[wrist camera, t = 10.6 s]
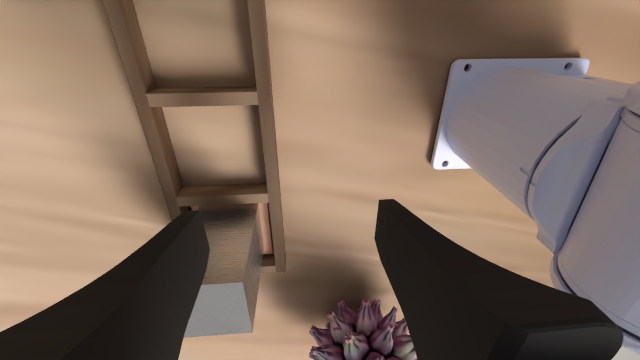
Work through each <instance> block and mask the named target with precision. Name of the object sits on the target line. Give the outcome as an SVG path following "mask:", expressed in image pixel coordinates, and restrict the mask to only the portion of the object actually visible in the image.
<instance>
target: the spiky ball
mask: <svg viewBox="0 0 640 360" xmlns="http://www.w3.org/2000/svg"><path fill="white" fill-rule="evenodd" d="M337 306H338V315H336V314H335V313H334V312H333V311H332V310H331V312H328V315H327V317H328V318H329V320H330V322H329V323H327V325H326V328H327V329H319V328H317V327H315V326H312V328H311V330H310V331H309V333H310V334H311V335H312V336H313V337H314V338H315V340H316V342H317V344H318V345H319V347H315V346H312V349H311V352H310V353H309V355H310V356H309V357H310V358H312V359H314V360H418V359H417V356H416V352H415V349H414V346H413V342H412V339H411V336H410V335H407V334H406V331H407V327H408V326H407V323H406V320H405V318H403V319H402V320H401V321H398V322H395V317H396V312H397V309H396V308H395V307H393V308H392V310H391V312H390V313H389V314H387V315H386V316H385V317H383V316H382V314H381V310H380V300H379V299H378V300H376V299H375V300H374V302H373V305H372V306H371V307H370V301H369V300H368V299H367V300H366V299H364V300H362V302H361V308H359V307H358V308H355V312H354V311H352V310H351V309H350V308H348V307H347V305H346V303H345V301H344V300H341V301H340V302H338V303H337Z"/></svg>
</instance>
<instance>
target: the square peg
mask: <svg viewBox="0 0 640 360" xmlns="http://www.w3.org/2000/svg"><path fill="white" fill-rule="evenodd" d="M198 210H200V211H201V215H202V219H203V223H204V227H205V231H206V235H207V239H208V243H209V247H210V253H209V258H208V264H207V268H206V273H205V276H204V279H203V282H202V285H201V288H200V290H199V293H198V296H197V299H196V302H195V305H194V308H193V310H192V313H191V316H190V319H189V322H188V325H187V328H186V331H185V334H184V337H197V336H211V335H224V334H238V333H251V332H253V325H254V317H255V310H256V303H257V295H258V288H259V281H260V273H261V266H262V259H263V251H264V241H263V234H262V226H261V219H260V211H259V204H258V203H249V204H226V205H202V206H199V208H198ZM184 337H183V338H184Z"/></svg>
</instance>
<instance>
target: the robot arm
mask: <svg viewBox="0 0 640 360" xmlns="http://www.w3.org/2000/svg"><path fill="white" fill-rule="evenodd" d="M567 63H568V64H567ZM466 64H468V65H469V67H468V69H467V70H466V71H464V67H465V65H466ZM566 64H567V67H566V68H565V69H564V67H565V65H566ZM588 67H589V60H588V59H586V58H515V59H458V60H456V61H454V62H453V63H452V65H451V68H450V73H449V78H448V83H447V87H446V92H445V97H444V102H443V107H442V111H441V116H440V121H439V126H438V131H437V135H436V140H435V145H434V150H433V155H432V159H431V166H432V167H433V168H434V169H437V170H438V169H465V168H472V169H473V170H475V171H476V172H477V173H478V174H479V175H480V176H482V177H483V178H484V179H485V180H486V181H488V182H489V183H490V184H491V185H492V186H493V187H495V188H496V189H497V190H498V191H499V192H501V193H502V194H503V195H504V196H505V197H506V198H508V199H509V200H510V201H511V202H512V203H513V204H515V205H516V206H517V207H518V208H519V209H521V210H522V211H523V212H524V213H525V214H526V215H528V216H529V217H530V218H531V219H532V220H534V221H535V222H536V224H537V226H538V234H537V239H538V240H539V241H540V242H541V243H542V244H544V245H545V246H546V247H547V248H548V249H549V250H550V251H551V252H552V253H553V254H555V255H554V256H553V258H552V261H551V264H550V277H551V280H552V283H553V285H554V287H555V288H552V287H549V286H546V285H544V284H541V283H538V282H536V281H533V280H531V279H528V278H526V277H523V276H521V275H518V274H516V273H514V272H511V271H509V270H507V269H504V268H502V267H500V266H498V265H496V264H494V263H492V262H489V261H487V260H485V259H483V258H481V257H480V256H478V255H476V254H474V253H472V252H470V251H469V250H467V249H465V248H463V247H461V246H460V245H458V244H456V243H455V242H453V241H451V240H450V239H448V238H447V237H445V236H444V235H442V234H441V233H439V232H438V231H436V230H435V229H433V228H432V227H430V226H429V225H428V224H426V223H425V222H424V221H422V220H421V219H419V218H418V217H417V216H415V215H414V214H413V213H412V212H410V211H409V210H408V209H406V208H405V207H404V206H402V205H401V204H400V203H398V202H397V201H395V200H394V199H387V200H379V205H378V214H377V222H376V231H375V242H376V246H377V249H378V253H379V256H380V260H381V262H382V265H383V267H384V269H385V272H386V274H387V276H388V279H389V281H390V283H391V286H392V288H393V290H394V293H395V295H396V297H397V300H398V302H399V304H400V307H401V309H402V312H403V314H404V317H405V320H406V323H407V326H408V330H409V333H410V336H411V339H412V342H413V346H414V349H415V352H416V356H417V359H418V360H611V359H612V358H613V357H614V356H615V354H616V353H617V352H618V351H619V349H620V347H621V346H623V347H625V348H627V349H629V350H631V351H633V352H635V353H637V354H640V81H639V82H636V83H634V84H628V83H623V82H618V81H612V80H607V79H602V78H597V77H592V76H587V75H585V74H586V71H587V69H588ZM444 161H446V163H445V164H443V165H442V163H443V162H444ZM209 253H210V247H209V243H208V239H207V235H206V231H205V227H204V223H203V219H202V215H201V211H200V210H196V211H184V212H183V213H181V214H180V215H179V216H177V217H176V218H175V219H174V220H173V221H172V222H170V223H169V224H168V225H167V226H166V227H164V228H163V229H162V230H161V231H160V232H159V233H157V234H156V235H155V236H154V237H153V238H151V239H150V240H149V241H148V242H147V243H145V244H144V245H143V246H141V247H140V248H139V249H138V250H136V251H135V252H134V253H132V254H131V255H130V256H128V257H127V258H126V259H125V260H123V261H122V262H121V263H119V264H118V265H116V266H115V267H114V268H112V269H111V270H109V271H108V272H106V273H105V274H103V275H102V276H100V277H99V278H97V279H96V280H94V281H93V282H91V283H90V284H88V285H86V286H85V287H83V288H81V289H80V290H78V291H76V292H75V293H73V294H71V295H69V296H68V297H66V298H64V299H63V300H61V301H59V302H57V303H56V304H54V305H52V306H50V307H49V308H47V309H45V310H43V311H41V312H39V313H37V314H35V315H34V316H32V317H30V318H28V319H26V320H24V321H22V322H20V323H18V324H16V325H14V326H12V327H10V328H8V329H6V330H4V331H2V332H0V360H178V358H179V353H180V349H181V345H182V341H183V337H184V334H185V331H186V328H187V325H188V322H189V319H190V316H191V313H192V310H193V308H194V305H195V302H196V299H197V296H198V293H199V290H200V288H201V285H202V282H203V279H204V276H205V273H206V268H207V264H208V258H209Z"/></svg>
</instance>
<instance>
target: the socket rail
mask: <svg viewBox="0 0 640 360" xmlns="http://www.w3.org/2000/svg"><path fill="white" fill-rule="evenodd" d="M103 3H104V7H105V10H106V13H107V16H108V19H109V22H110V26H111V29H112V32H113V35H114V38H115V41H116V45H117V48H118V51H119V54H120V57H121V60H122V64H123V67H124V70H125V73H126V76H127V79H128V82H129V86H130V89H131V92H132V95H133V98H134V101H135V105H136V108H137V111H138V114H139V117H140V120H141V124H142V127H143V130H144V133H145V136H146V139H147V143H148V146H149V149H150V152H151V155H152V158H153V162H154V165H155V168H156V171H157V174H158V177H159V181H160V184H161V187H162V190H163V193H164V196H165V199H166V203H167V206H168V209H169V212H170V215H171V218H172V221H173V220H174V219H175V218H176V217H177V216H179V215H180V214H181V213H183V212H184V211H190V210H189V206H191V209H192V211H196V210H198V208H199V206H202V205H226V204H249V203H258V204H259V211H260V219H261V226H262V234H263V241H264V251H263V259H262V266H261V273H275V272H285V267H286V256H285V244H284V231H283V219H282V207H281V194H280V182H279V170H278V157H277V145H276V133H275V120H274V108H273V96H272V84H271V71H270V59H269V47H268V34H267V22H266V10H265V0H247V3H248V13H249V22H250V31H251V41H252V50H253V60H254V69H255V78H256V87H221V88H162V89H156V85H155V81H154V78H153V74H152V70H151V67H150V63H149V59H148V56H147V52H146V48H145V45H144V41H143V37H142V34H141V30H140V26H139V23H138V19H137V15H136V12H135V8H134V4H133V1H132V0H103ZM227 105H258V106H259V116H260V125H261V135H262V144H263V153H264V163H265V172H266V181H267V184H246V185H220V186H194V187H183V184H182V180H181V177H180V173H179V169H178V166H177V162H176V158H175V155H174V151H173V147H172V144H171V140H170V136H169V133H168V129H167V125H166V122H165V118H164V114H163V111H162V107H180V106H227ZM268 203H269V210H270V219H271V228H272V238H273V247H274V254H273V248H272V238H271V229H270V220H269V211H268Z"/></svg>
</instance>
